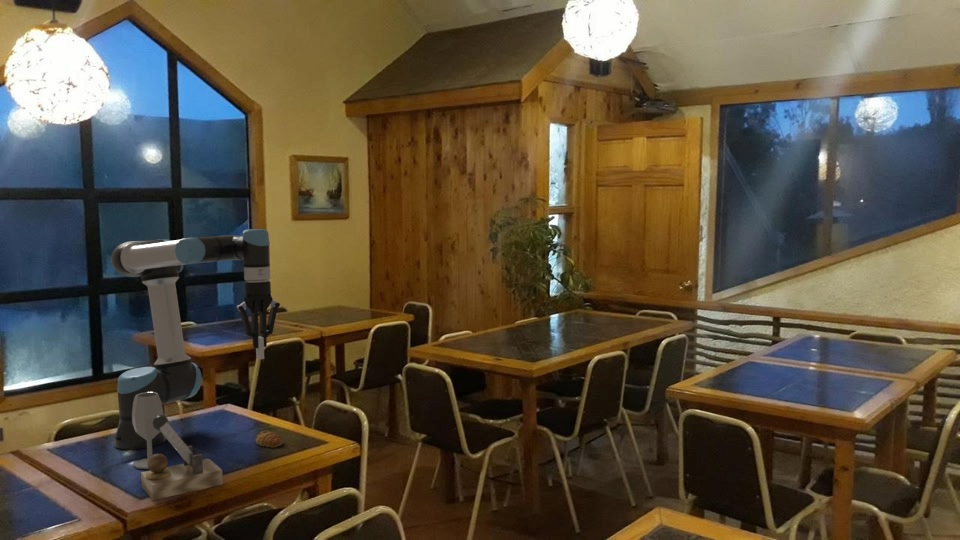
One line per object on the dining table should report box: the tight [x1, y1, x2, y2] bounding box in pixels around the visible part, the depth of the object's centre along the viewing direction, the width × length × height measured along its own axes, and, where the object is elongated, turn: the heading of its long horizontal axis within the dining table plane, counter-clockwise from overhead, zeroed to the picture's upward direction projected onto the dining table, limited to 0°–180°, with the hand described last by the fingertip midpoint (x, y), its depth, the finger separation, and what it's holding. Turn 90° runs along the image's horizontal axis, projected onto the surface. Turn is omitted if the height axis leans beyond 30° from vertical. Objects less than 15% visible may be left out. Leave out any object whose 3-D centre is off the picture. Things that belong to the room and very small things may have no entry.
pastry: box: [255, 430, 284, 448], centre depth 242 cm, size 9×7×4 cm
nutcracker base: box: [140, 445, 224, 501], centre depth 207 cm, size 18×12×10 cm, turn 126°
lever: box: [152, 414, 195, 466], centre depth 206 cm, size 4×7×18 cm
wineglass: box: [132, 392, 165, 470], centre depth 224 cm, size 9×9×21 cm
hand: (260, 358), depth 232 cm, fingers closed
